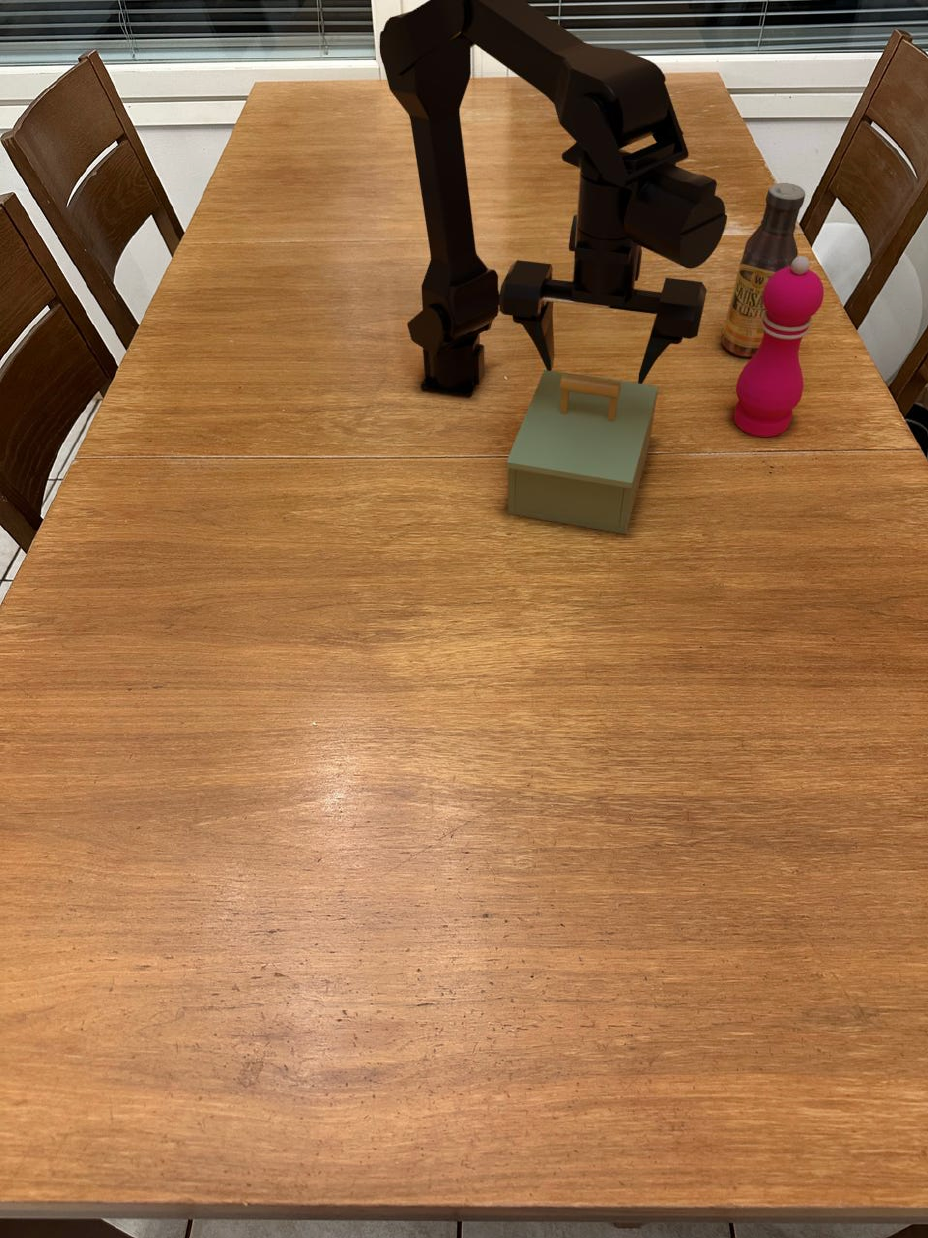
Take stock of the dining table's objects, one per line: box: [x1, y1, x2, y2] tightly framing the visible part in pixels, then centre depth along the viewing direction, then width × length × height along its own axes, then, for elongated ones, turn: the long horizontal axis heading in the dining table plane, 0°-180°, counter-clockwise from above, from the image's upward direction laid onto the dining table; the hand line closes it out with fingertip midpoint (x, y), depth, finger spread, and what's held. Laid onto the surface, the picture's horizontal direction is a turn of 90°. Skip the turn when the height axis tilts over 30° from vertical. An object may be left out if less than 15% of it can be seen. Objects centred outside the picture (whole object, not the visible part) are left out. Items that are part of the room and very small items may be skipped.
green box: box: [507, 395, 658, 535], centre depth 101 cm, size 16×13×7 cm
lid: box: [505, 369, 659, 489], centre depth 96 cm, size 16×13×5 cm
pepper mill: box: [733, 255, 825, 438], centre depth 102 cm, size 7×7×20 cm
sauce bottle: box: [721, 182, 806, 358], centre depth 112 cm, size 6×6×20 cm
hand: (595, 374), depth 95 cm, fingers open, 9 cm apart
